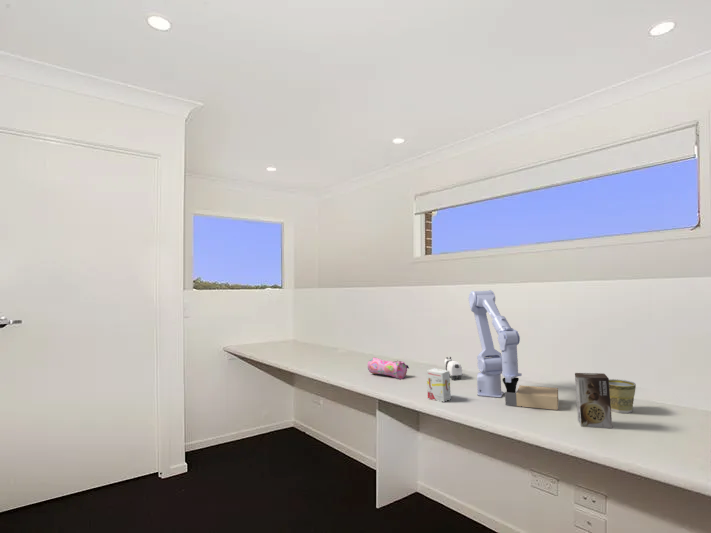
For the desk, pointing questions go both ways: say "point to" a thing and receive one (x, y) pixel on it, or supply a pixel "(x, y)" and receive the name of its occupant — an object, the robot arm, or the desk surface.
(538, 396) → the carton flap
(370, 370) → the pencil case
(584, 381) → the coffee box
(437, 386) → the ink box
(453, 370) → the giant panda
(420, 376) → the desk surface
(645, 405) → the desk surface
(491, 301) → the robot arm
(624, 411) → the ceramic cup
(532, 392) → the carton
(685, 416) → the desk surface
